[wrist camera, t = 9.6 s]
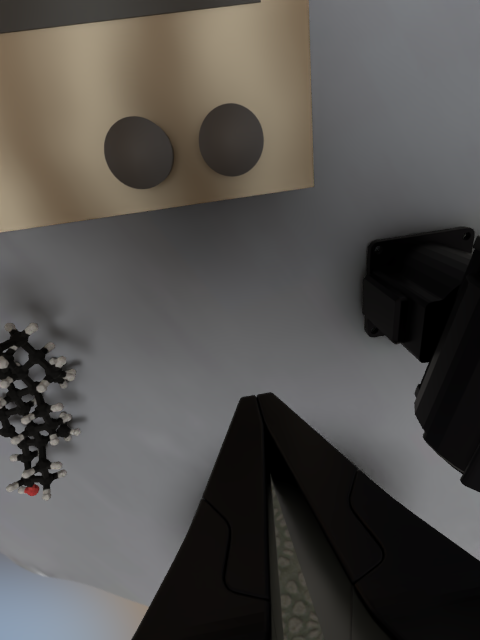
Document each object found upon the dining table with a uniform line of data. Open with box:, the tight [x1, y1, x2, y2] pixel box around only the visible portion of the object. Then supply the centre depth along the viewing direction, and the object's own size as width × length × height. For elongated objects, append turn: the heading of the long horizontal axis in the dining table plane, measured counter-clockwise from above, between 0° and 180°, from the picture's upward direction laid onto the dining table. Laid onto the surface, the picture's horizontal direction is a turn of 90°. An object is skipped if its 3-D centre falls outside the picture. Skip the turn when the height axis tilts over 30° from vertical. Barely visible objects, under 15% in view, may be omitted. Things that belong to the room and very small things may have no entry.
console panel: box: [0, 0, 314, 232], centre depth 14 cm, size 24×16×4 cm, turn 97°
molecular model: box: [0, 323, 81, 501], centre depth 19 cm, size 6×15×8 cm, turn 176°
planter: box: [270, 475, 325, 640], centre depth 24 cm, size 17×17×15 cm
